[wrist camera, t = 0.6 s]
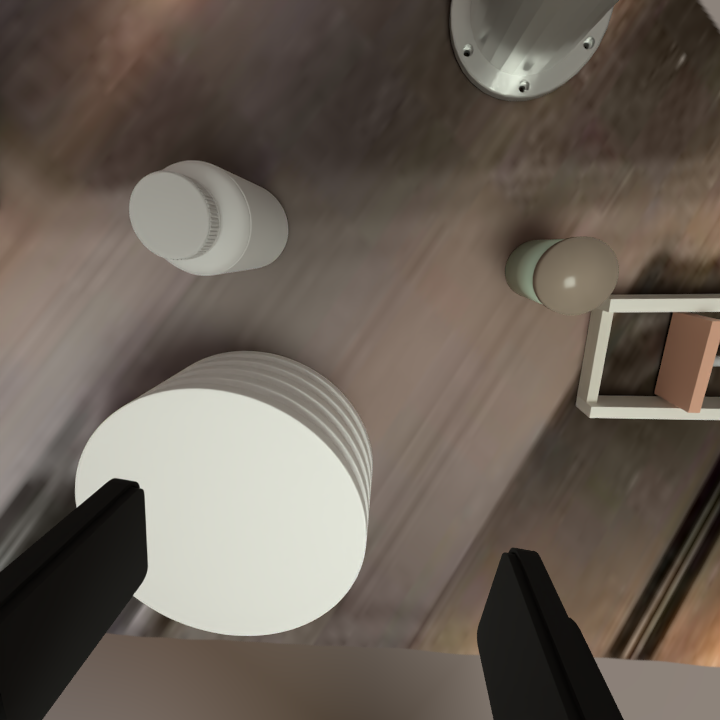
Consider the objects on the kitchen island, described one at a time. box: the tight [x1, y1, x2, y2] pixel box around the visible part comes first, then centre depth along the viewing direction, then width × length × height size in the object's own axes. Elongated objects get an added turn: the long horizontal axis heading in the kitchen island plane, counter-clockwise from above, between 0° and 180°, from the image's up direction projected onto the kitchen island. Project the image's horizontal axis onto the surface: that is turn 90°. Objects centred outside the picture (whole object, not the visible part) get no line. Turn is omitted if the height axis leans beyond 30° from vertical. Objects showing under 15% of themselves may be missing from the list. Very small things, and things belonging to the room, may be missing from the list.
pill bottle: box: [129, 160, 288, 276], centre depth 30 cm, size 8×8×15 cm
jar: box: [505, 237, 619, 315], centre depth 32 cm, size 6×6×9 cm
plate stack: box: [75, 351, 373, 636], centre depth 41 cm, size 28×28×12 cm
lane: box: [576, 294, 720, 420], centre depth 34 cm, size 12×19×7 cm, turn 91°
